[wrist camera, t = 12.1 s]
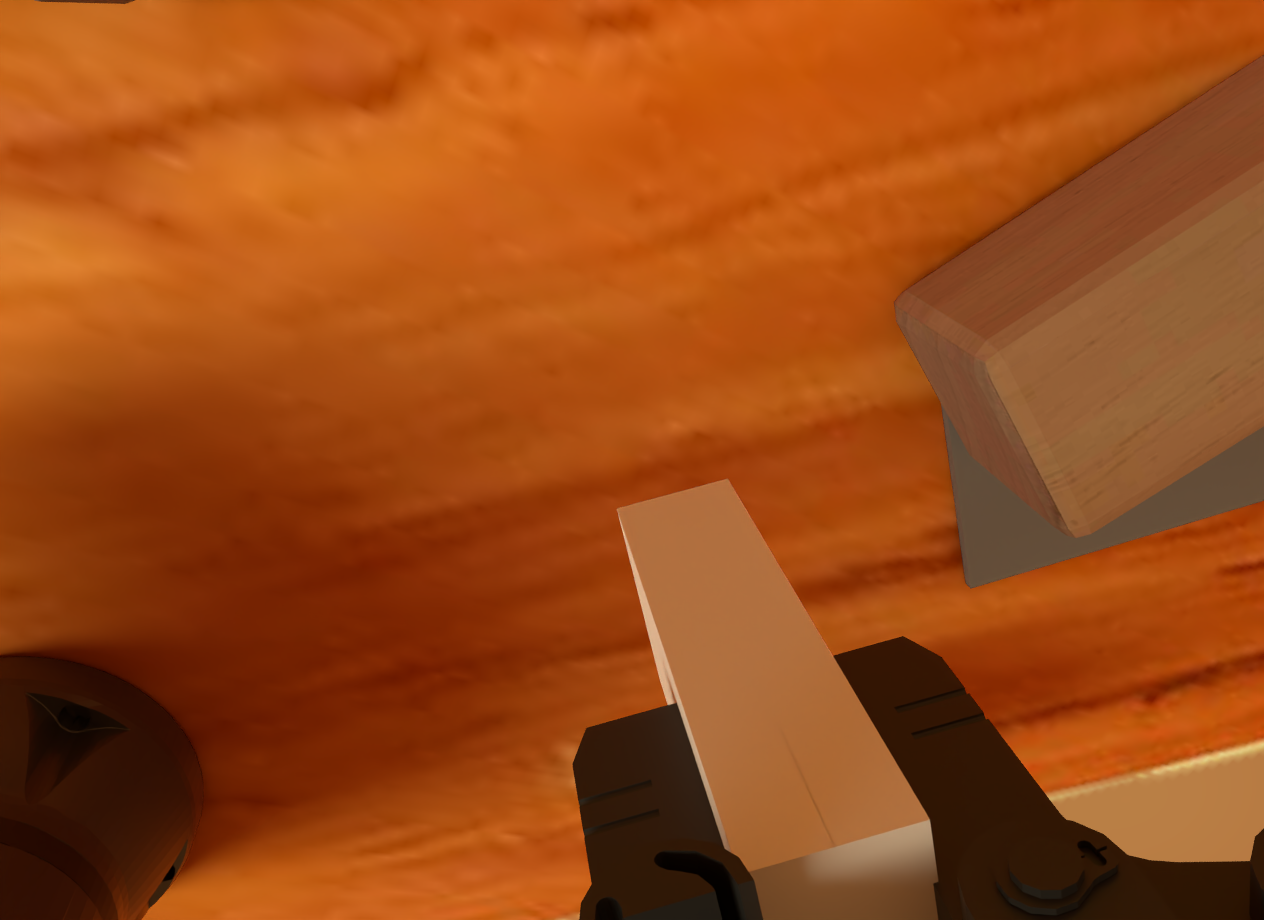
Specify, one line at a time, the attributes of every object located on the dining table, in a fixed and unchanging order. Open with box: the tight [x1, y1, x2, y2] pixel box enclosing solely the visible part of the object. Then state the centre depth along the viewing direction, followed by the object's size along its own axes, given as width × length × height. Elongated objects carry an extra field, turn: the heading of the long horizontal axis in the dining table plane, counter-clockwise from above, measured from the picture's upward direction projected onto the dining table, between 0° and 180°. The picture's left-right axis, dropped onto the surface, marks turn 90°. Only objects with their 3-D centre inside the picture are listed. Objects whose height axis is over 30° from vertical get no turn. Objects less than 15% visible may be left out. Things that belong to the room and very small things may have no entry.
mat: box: [941, 404, 1264, 588], centre depth 54 cm, size 19×16×1 cm
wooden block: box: [894, 55, 1264, 538], centre depth 46 cm, size 10×10×20 cm
